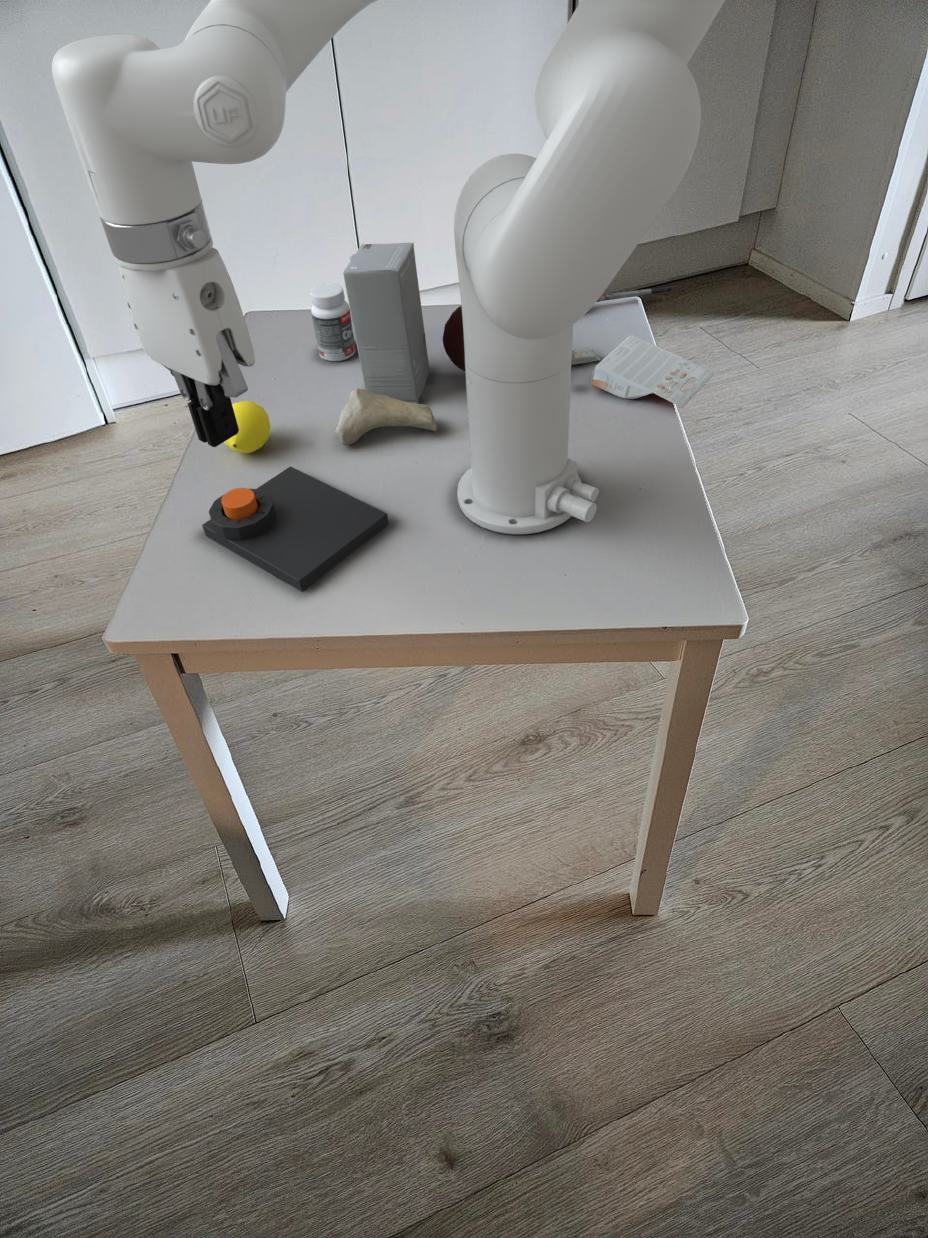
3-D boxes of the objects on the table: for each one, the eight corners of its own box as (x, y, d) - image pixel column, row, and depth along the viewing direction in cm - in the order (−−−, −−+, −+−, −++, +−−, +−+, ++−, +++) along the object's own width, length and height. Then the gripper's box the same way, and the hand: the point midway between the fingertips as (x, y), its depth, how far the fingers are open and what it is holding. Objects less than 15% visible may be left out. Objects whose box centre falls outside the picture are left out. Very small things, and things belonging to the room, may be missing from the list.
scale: (389, 524, 86) (385, 500, 84) (301, 592, 80) (295, 568, 78) (292, 476, 93) (287, 453, 91) (204, 535, 87) (196, 512, 85)
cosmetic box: (418, 405, 102) (405, 272, 90) (359, 403, 103) (339, 270, 92) (432, 368, 108) (420, 239, 96) (376, 366, 109) (358, 238, 97)
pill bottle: (353, 361, 110) (343, 297, 104) (317, 363, 110) (304, 299, 104) (357, 343, 113) (348, 280, 107) (322, 344, 113) (310, 282, 108)
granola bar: (596, 346, 107) (604, 359, 105) (594, 354, 108) (601, 367, 106) (543, 345, 106) (550, 359, 104) (541, 354, 106) (548, 368, 105)
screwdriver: (675, 303, 117) (666, 295, 120) (678, 281, 115) (668, 273, 118) (498, 327, 114) (492, 318, 116) (497, 305, 112) (491, 296, 114)
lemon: (238, 429, 100) (226, 387, 96) (283, 431, 99) (273, 389, 96) (216, 465, 95) (203, 422, 92) (263, 467, 95) (251, 425, 91)
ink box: (625, 349, 107) (707, 391, 104) (588, 383, 102) (674, 428, 99) (631, 329, 105) (716, 371, 102) (594, 362, 100) (682, 408, 97)
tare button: (264, 507, 85) (261, 494, 84) (239, 524, 83) (236, 511, 82) (243, 496, 87) (239, 483, 86) (218, 512, 85) (214, 500, 84)
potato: (441, 360, 108) (435, 288, 102) (536, 349, 109) (536, 276, 103) (449, 396, 102) (444, 322, 96) (549, 384, 103) (551, 310, 96)
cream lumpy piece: (338, 452, 96) (331, 414, 92) (333, 422, 100) (326, 385, 97) (438, 436, 97) (435, 398, 93) (429, 408, 101) (426, 370, 98)
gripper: (261, 235, 64) (306, 444, 78) (139, 197, 72) (199, 394, 85) (181, 272, 61) (243, 486, 74) (60, 228, 68) (136, 430, 81)
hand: (219, 436), depth 79 cm, fingers closed
